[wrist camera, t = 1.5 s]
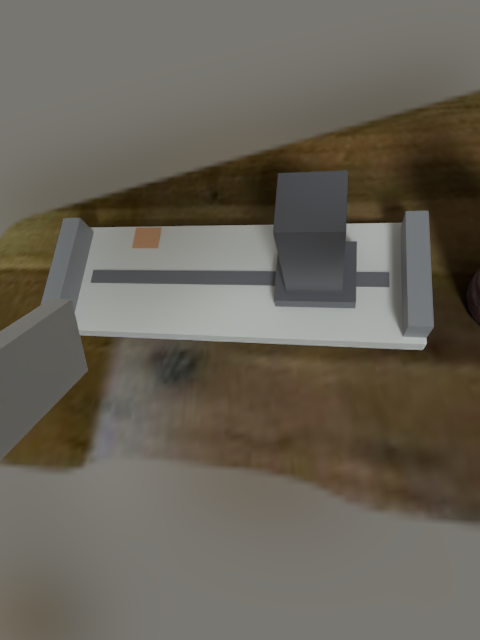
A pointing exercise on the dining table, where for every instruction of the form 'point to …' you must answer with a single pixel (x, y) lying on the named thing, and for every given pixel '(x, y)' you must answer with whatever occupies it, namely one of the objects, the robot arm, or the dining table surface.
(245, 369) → the dining table surface
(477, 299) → the can
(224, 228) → the fader base
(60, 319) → the robot arm
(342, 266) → the fader knob
